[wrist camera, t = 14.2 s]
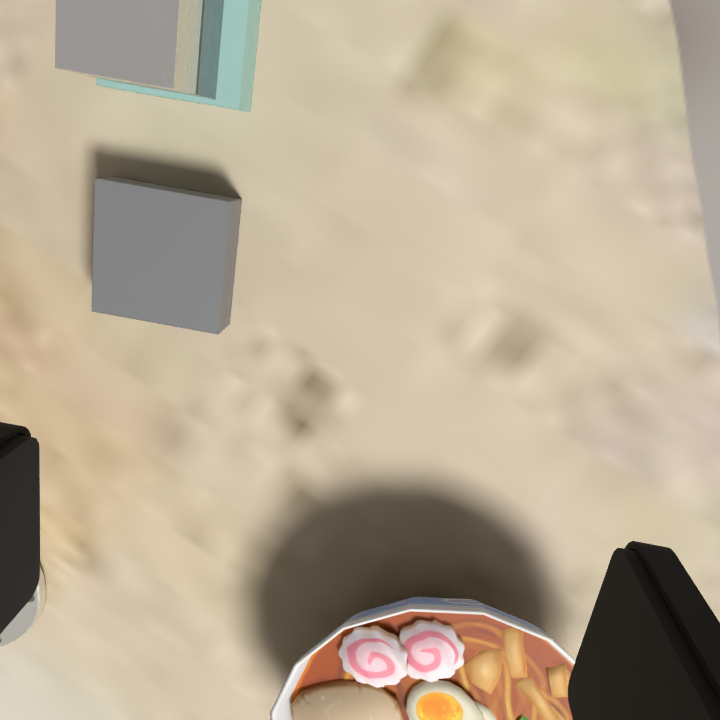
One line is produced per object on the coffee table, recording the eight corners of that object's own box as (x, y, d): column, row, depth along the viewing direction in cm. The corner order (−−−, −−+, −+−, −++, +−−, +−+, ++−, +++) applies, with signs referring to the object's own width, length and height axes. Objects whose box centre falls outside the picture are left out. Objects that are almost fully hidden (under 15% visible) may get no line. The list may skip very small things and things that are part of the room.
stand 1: (117, 89, 37) (96, 85, 35) (122, -68, 34) (100, -84, 32) (250, 112, 37) (238, 109, 34) (265, -44, 34) (254, -59, 32)
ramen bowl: (504, 474, 43) (524, 546, 35) (658, 704, 48) (705, 812, 40) (220, 624, 49) (183, 714, 41) (382, 815, 54) (377, 926, 46)
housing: (123, -65, 32) (56, -114, 26) (228, -47, 32) (185, -92, 26) (117, 82, 34) (55, 67, 29) (215, 99, 34) (173, 88, 28)
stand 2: (110, 302, 41) (91, 311, 39) (114, 176, 39) (94, 178, 36) (229, 323, 41) (218, 334, 39) (241, 199, 38) (230, 202, 36)
